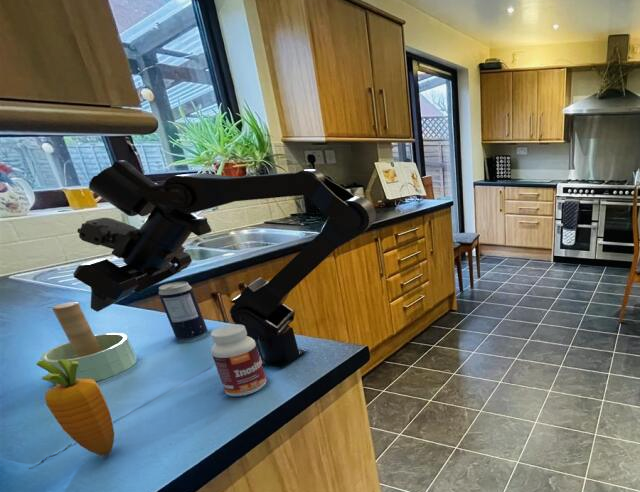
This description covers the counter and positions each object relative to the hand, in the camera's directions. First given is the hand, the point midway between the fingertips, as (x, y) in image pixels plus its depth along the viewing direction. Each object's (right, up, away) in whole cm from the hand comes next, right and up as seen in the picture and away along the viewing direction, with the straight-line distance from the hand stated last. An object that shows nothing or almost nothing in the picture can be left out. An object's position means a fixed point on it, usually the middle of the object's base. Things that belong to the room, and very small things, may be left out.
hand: (116, 299), depth 70 cm
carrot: (+15, -22, -16) cm, 31 cm away
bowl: (-8, -13, +4) cm, 16 cm away
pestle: (-8, -13, +4) cm, 16 cm away
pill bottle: (+24, -15, -1) cm, 28 cm away
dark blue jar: (-1, -7, +18) cm, 20 cm away
